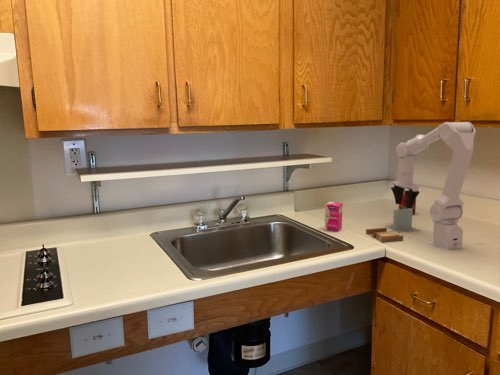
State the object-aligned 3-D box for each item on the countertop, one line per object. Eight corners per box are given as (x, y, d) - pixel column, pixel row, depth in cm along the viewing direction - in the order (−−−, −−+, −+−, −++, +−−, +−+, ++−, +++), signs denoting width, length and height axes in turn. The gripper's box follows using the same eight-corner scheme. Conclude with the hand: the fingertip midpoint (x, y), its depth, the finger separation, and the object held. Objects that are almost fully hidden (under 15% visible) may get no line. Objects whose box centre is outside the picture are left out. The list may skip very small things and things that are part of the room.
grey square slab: (411, 228, 166) (412, 209, 165) (394, 229, 165) (396, 210, 163) (409, 227, 168) (410, 208, 166) (392, 228, 166) (393, 209, 165)
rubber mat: (420, 232, 163) (420, 230, 163) (398, 234, 160) (398, 232, 160) (405, 225, 172) (405, 224, 172) (384, 227, 170) (384, 226, 170)
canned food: (398, 214, 192) (399, 192, 190) (397, 211, 199) (399, 189, 198) (415, 215, 190) (417, 192, 188) (414, 212, 197) (415, 189, 195)
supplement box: (324, 231, 165) (324, 204, 163) (328, 228, 170) (329, 201, 168) (338, 233, 162) (339, 205, 160) (342, 229, 167) (343, 202, 165)
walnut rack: (403, 242, 150) (403, 236, 149) (382, 244, 148) (382, 237, 148) (385, 233, 161) (385, 227, 161) (365, 235, 159) (366, 229, 159)
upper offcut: (399, 237, 151) (399, 234, 151) (382, 238, 149) (382, 236, 149) (393, 234, 155) (393, 231, 154) (376, 235, 153) (376, 233, 153)
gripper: (386, 170, 168) (385, 202, 171) (407, 175, 154) (405, 210, 157) (401, 170, 170) (400, 201, 172) (424, 174, 156) (421, 209, 158)
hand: (403, 205), depth 165 cm, fingers open, 7 cm apart
